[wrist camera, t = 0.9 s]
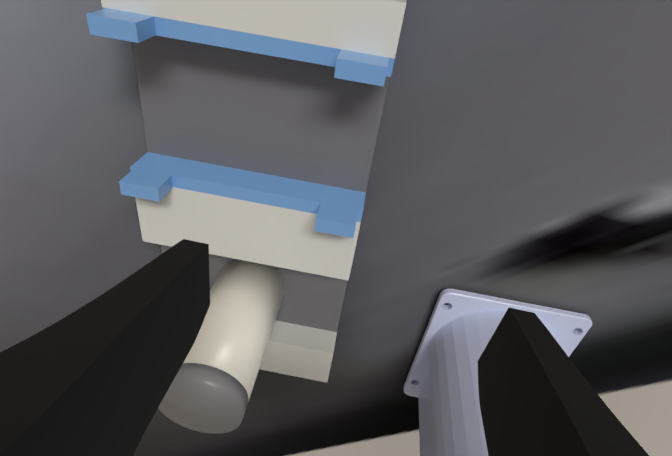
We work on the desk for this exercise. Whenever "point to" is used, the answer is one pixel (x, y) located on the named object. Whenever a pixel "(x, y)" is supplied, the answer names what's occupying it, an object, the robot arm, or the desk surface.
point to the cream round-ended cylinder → (226, 349)
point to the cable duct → (261, 142)
